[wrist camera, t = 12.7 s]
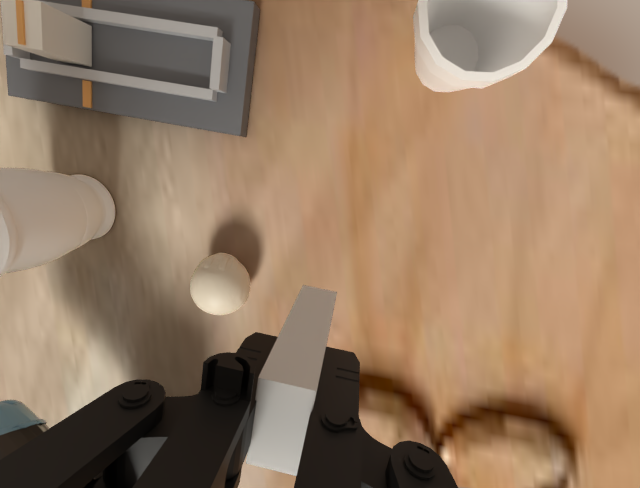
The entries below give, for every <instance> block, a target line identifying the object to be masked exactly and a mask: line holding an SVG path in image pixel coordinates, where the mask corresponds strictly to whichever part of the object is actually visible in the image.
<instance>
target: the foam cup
mask: <svg viewBox="0 0 640 488" xmlns="http://www.w3.org/2000/svg"><path fill="white" fill-rule="evenodd" d="M566 9H567V0H418V3H417V6H416V9H415V12H414V15H413V22H414V34H415V69H416V74H417V75H418V77H419V79H420V80H421V82H422V84H423V85H425V86H426V87H428V88H430V89H431V90H433V91H435V92H453V91H458V90H463V89H468V88H485V87H487V86H489V85H492V84H494V83H497V82H499V81H502V80H504V79H506V78H509V77H511V76H513V75H515V74H517V73H519V72H520V71H522V70H524V69H526V68H527V67H528V66H529V65H530V64H531V63H532V62H533V61H534V60H535V59H536V58H537V57H538V56H539V55H540V54H541V53H542V52H543V51H544V50H545V49H546V48H547V47H548V46H549V45H550V44H551V43H552V41H553V39H554V36H555V34H556V32H557V29H558V27H559V25H560V23H561V20H562V18H563V16H564V14H565V11H566Z"/></svg>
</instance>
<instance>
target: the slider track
mask: <svg viewBox="0 0 640 488" xmlns="http://www.w3.org/2000/svg"><path fill="white" fill-rule="evenodd" d="M34 1H40V2H43V3H45V4H47V5H49V6H51V7H53V8H55V9H57V10H59V11H61V12H63V13H65V14H68V15H70V16H72V17H74V18H76V19H78V20H80V21H82V22H84V23H86V24H88V25H90V26H92V67H90V66H84V65H78V64H71V63H65V62H59V61H56V60H52V59H49V58H46V57H43V56H40V55H37V54H34V53H30V52H27V51H24V50H21V49H18V48H15V47H11V46H8V45H5V44H3V45H4V54H5V55H6V67H7V84H8V95H9V96H15V97H20V98H26V99H32V100H37V101H43V102H49V103H54V104H60V105H66V106H72V107H77V108H83V109H89V110H94V111H100V112H106V113H111V114H117V115H123V116H128V117H134V118H140V119H146V120H151V121H157V122H163V123H168V124H174V125H180V126H185V127H191V128H197V129H203V130H208V131H214V132H220V133H225V134H231V135H237V136H242V137H246V135H247V126H248V117H249V107H250V98H251V89H252V80H253V70H254V61H255V52H256V43H257V34H258V24H259V15H260V9H259V8H258V6H257V5H256V3H255V2H253V1H246V0H92V8H85V7H82V0H34ZM1 13H2V12H1ZM2 29H3V28H2ZM82 80H86V81H91V82H92V108H88V107H83V93H82Z"/></svg>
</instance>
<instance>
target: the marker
mask: <svg viewBox="0 0 640 488" xmlns="http://www.w3.org/2000/svg"><path fill="white" fill-rule="evenodd" d="M82 7H85V8H92V0H82ZM82 93H83V107H88V108H92V82H91V81H86V80H82Z"/></svg>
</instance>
